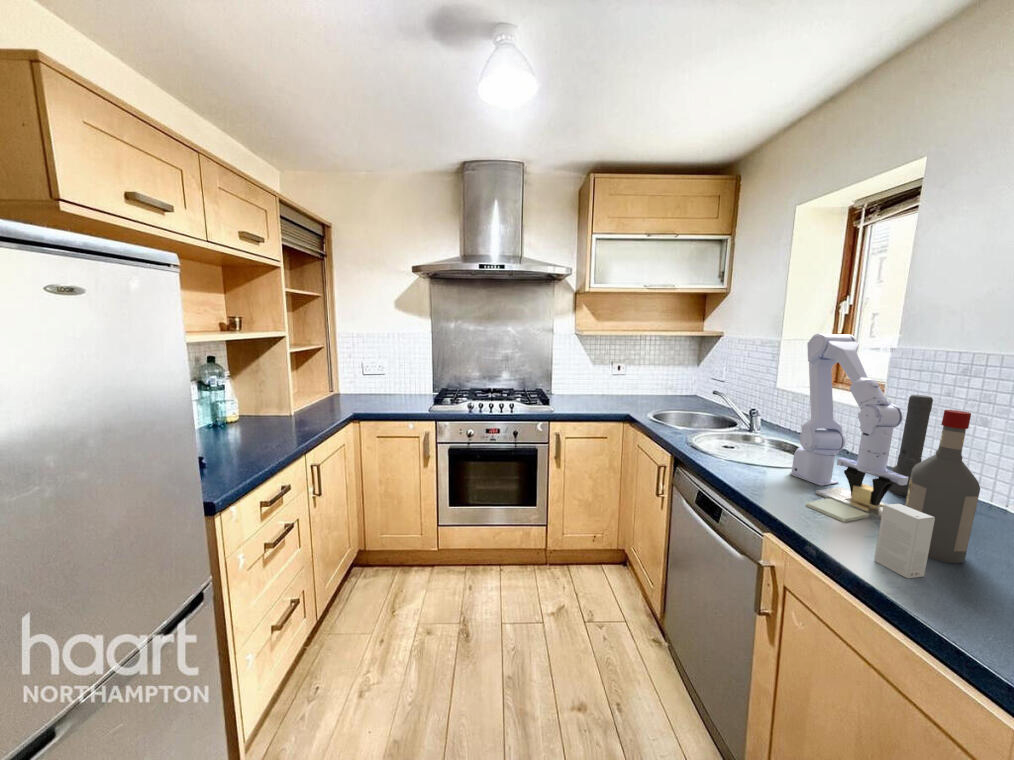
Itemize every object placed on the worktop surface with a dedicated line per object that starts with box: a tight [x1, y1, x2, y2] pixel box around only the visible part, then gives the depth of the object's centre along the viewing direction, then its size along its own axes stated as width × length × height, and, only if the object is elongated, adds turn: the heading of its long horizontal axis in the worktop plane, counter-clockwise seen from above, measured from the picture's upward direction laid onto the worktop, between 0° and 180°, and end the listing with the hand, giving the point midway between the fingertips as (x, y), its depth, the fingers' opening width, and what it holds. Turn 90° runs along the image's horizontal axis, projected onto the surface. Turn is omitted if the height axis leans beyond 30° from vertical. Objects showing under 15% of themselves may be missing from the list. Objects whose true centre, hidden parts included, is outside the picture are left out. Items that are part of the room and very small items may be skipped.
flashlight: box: [887, 394, 934, 497], centre depth 113 cm, size 7×28×7 cm
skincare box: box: [873, 503, 935, 579], centre depth 77 cm, size 6×4×12 cm
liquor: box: [904, 409, 981, 564], centre depth 83 cm, size 9×9×30 cm
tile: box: [805, 498, 870, 523], centre depth 102 cm, size 9×9×1 cm
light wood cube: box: [850, 483, 879, 509], centre depth 105 cm, size 4×4×5 cm
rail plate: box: [815, 486, 888, 520], centre depth 106 cm, size 18×10×1 cm, turn 20°
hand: (865, 500), depth 106 cm, fingers closed on light wood cube, 4 cm apart
